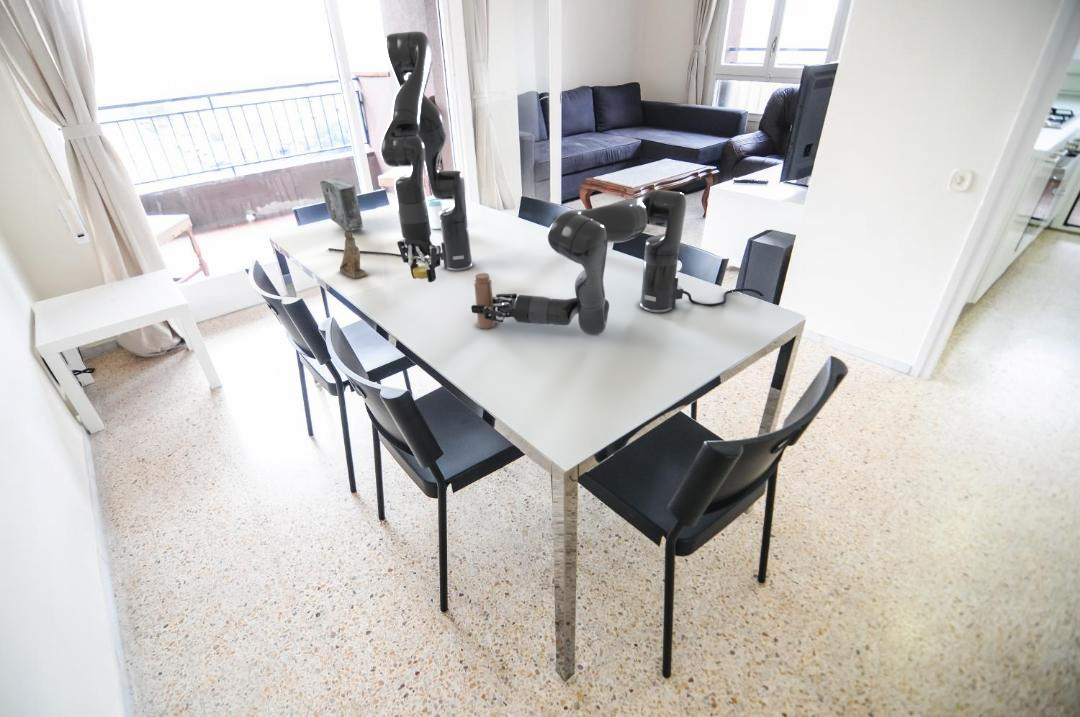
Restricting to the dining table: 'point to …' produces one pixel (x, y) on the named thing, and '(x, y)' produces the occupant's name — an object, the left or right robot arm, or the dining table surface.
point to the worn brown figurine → (351, 258)
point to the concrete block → (342, 203)
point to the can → (435, 212)
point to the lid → (420, 272)
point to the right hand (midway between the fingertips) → (475, 304)
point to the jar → (483, 298)
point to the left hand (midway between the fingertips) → (424, 279)
